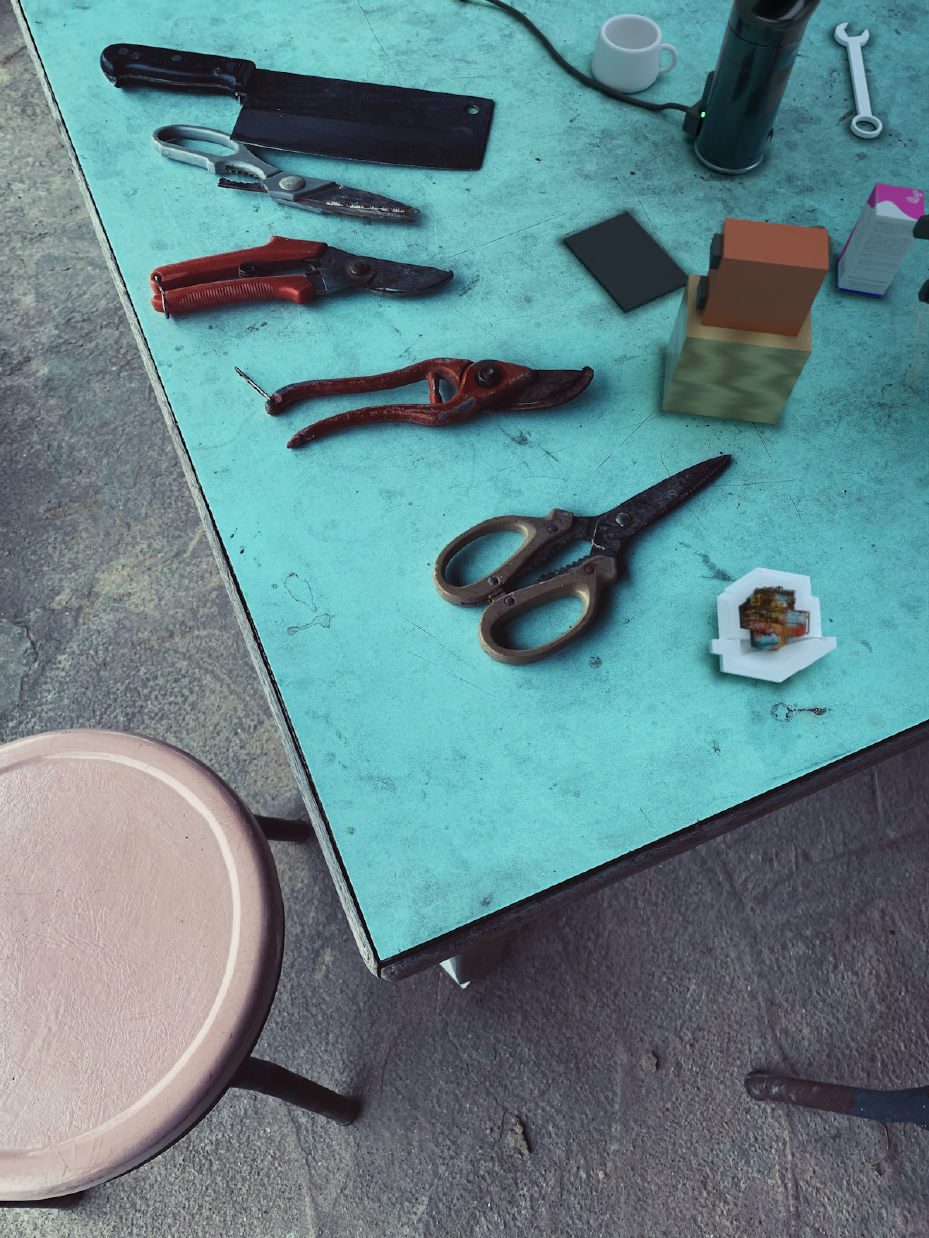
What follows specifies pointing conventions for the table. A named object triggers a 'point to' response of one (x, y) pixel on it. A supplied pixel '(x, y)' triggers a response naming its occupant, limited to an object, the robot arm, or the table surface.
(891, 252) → the supplement box
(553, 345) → the table surface
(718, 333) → the stand
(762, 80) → the robot arm
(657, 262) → the mat
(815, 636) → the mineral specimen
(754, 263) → the block
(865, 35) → the wrench
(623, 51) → the mug
